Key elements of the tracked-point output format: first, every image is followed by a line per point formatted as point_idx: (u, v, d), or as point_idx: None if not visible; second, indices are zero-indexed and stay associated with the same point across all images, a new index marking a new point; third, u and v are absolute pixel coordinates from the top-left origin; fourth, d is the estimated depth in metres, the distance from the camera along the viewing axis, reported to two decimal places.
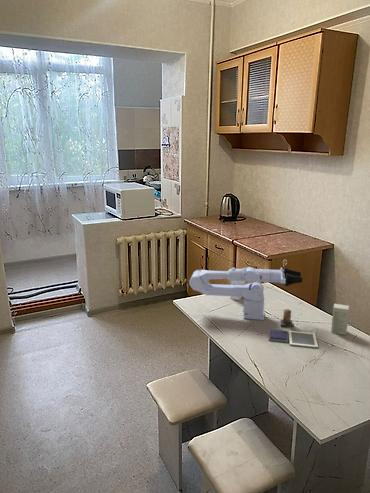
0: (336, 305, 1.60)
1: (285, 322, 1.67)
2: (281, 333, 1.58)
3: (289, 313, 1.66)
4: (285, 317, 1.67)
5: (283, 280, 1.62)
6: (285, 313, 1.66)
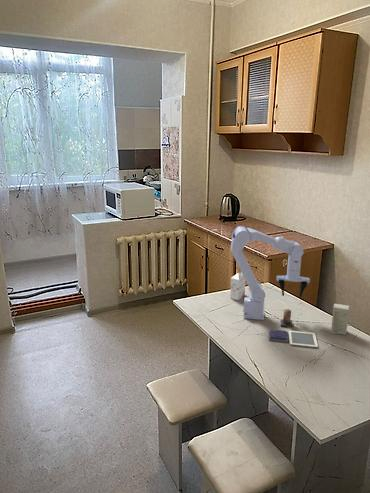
0: (336, 305, 1.60)
1: (285, 322, 1.67)
2: (281, 333, 1.58)
3: (289, 313, 1.66)
4: (285, 317, 1.67)
5: None
6: (285, 313, 1.66)
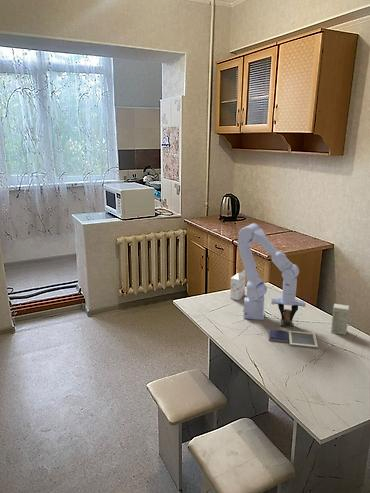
0: (336, 305, 1.60)
1: (285, 322, 1.67)
2: (281, 333, 1.58)
3: (289, 313, 1.66)
4: (285, 317, 1.67)
5: (305, 303, 1.65)
6: (285, 313, 1.66)
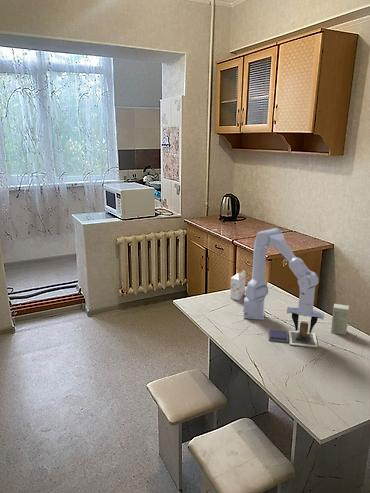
0: (336, 305, 1.60)
1: (301, 335, 1.55)
2: (281, 333, 1.58)
3: (305, 326, 1.53)
4: (301, 330, 1.54)
5: (323, 316, 1.50)
6: (301, 326, 1.54)
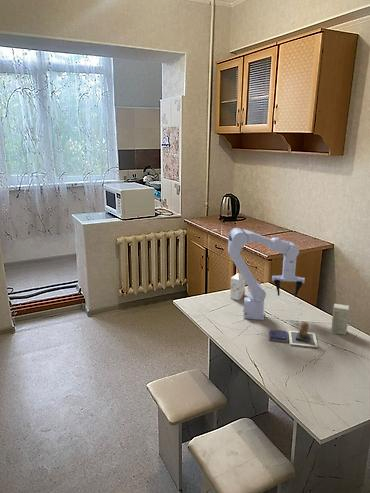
0: (336, 305, 1.60)
1: (301, 335, 1.55)
2: (281, 333, 1.58)
3: (305, 326, 1.53)
4: (301, 330, 1.54)
5: None
6: (301, 326, 1.54)
